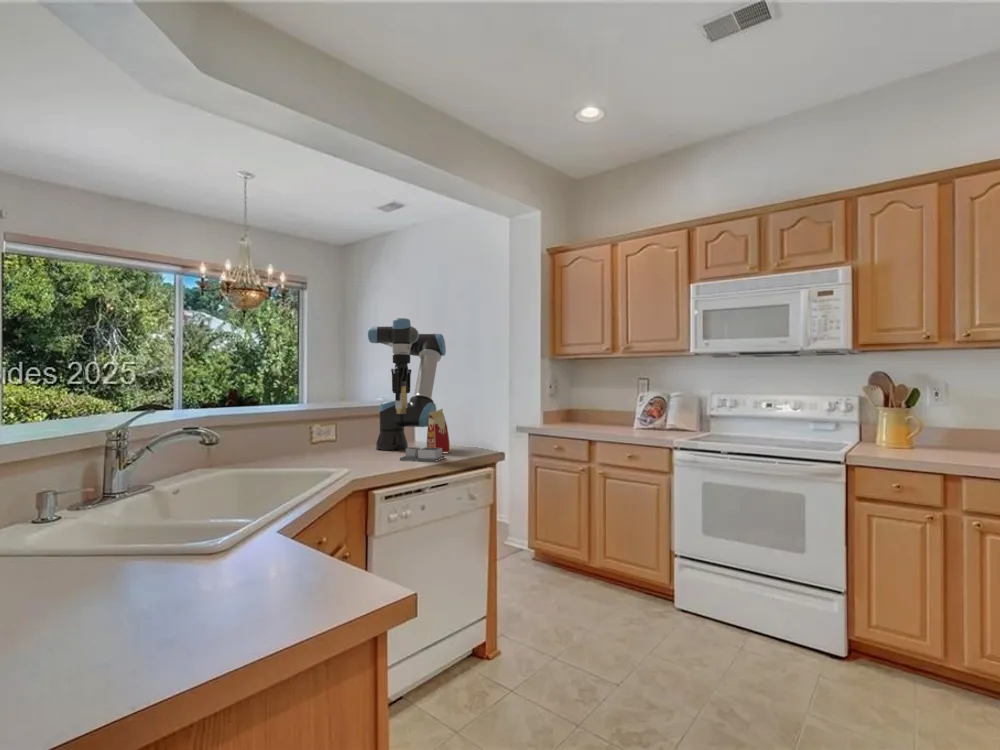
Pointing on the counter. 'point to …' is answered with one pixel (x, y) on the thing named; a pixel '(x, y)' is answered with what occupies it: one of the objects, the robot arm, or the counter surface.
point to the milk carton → (438, 431)
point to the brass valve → (403, 399)
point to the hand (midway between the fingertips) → (401, 408)
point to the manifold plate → (423, 454)
